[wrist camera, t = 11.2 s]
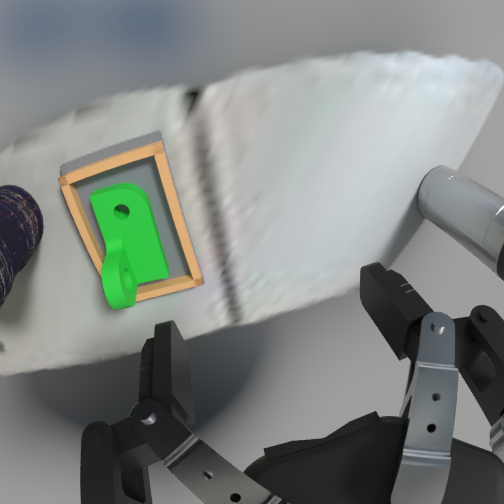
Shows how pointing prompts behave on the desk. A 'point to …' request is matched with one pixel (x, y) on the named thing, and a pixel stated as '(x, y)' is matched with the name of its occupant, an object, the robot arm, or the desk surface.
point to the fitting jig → (161, 198)
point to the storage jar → (17, 233)
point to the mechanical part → (128, 242)
